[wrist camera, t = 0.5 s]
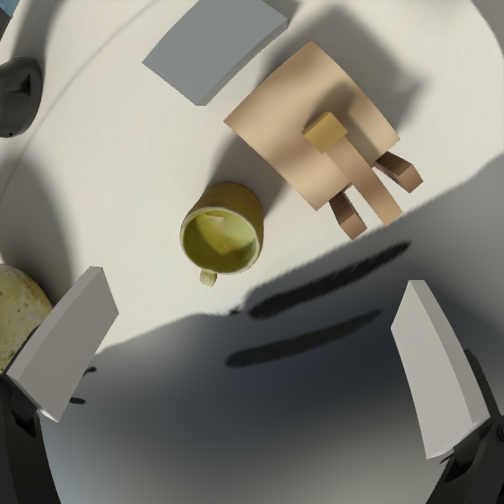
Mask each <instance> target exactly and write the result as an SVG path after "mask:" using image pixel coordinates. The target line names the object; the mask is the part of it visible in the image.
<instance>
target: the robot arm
mask: <svg viewBox="0 0 504 504" xmlns="http://www.w3.org/2000/svg"><path fill="white" fill-rule="evenodd" d="M19 1H20V0H0V41H1V38H2V36H3V34H4V32H5V30H6V28H7V26H8V24H9V22H10V20H11V19H12V17H13V13H14V11H15V9H16V7H17V5H18V3H19ZM41 91H42V77H41V71H40V68H39V65H38V63H37V62H36V61H35V60H34V59H33V58H31V57H19V58H15V59H13V60H11V61H8V62H6V63H4V64H2V65H0V137H3V138H11V137H14V136H17V135H20V134H22V133H24V132H25V131H26V130H27V129H28V128H29V127H30V125H31V124H32V122H33V120H34V118H35V116H36V113H37V110H38V107H39V103H40V98H41ZM118 314H119V312H118V309H117V307H116V304H115V302H114V299H113V296H112V293H111V291H110V288H109V285H108V282H107V279H106V277H105V274H104V271H103V268H102V267H93V266H90V267H89V268H88V269H87V270H86V271H85V272H84V273H83V275H82V276H81V277H80V278H79V279H78V280H77V281H76V282H75V284H74V285H73V286H72V287H71V288H70V289H69V290H68V292H67V293H66V294H65V295H64V296H63V297H62V299H61V300H60V301H59V302H58V303H57V305H56V306H55V307H54V308H53V310H52V311H51V312H50V313H49V315H48V316H47V317H46V318H45V320H44V321H43V322H42V323H41V324H40V325H38V326H37V327H36V328H34V329H33V330H32V331H31V333H30V334H29V335H28V337H27V338H26V341H24V342H23V344H22V345H21V348H19V349H18V351H17V352H16V353H15V355H14V356H13V358H12V359H11V361H10V362H9V364H8V365H7V367H6V368H5V370H4V371H3V372H2V374H1V373H0V504H61V502H60V499H59V497H58V494H57V491H56V487H55V485H54V481H53V478H52V474H51V471H50V467H49V463H48V459H47V455H46V451H45V446H44V442H43V437H42V431H41V425H40V418H39V416H38V413H37V412H36V410H37V408H38V409H39V410H40V411H41V412H42V413H43V414H44V415H45V416H47V417H49V418H51V419H53V420H55V421H56V422H59V420H60V418H61V416H62V414H63V412H64V409H65V408H66V406H67V404H68V402H69V400H70V398H71V396H72V394H73V392H74V390H75V388H76V386H77V385H78V383H79V381H80V379H81V377H82V375H83V373H84V372H85V370H86V368H87V366H88V364H89V363H90V361H91V359H92V357H93V356H94V354H95V352H96V350H97V349H98V347H99V345H100V344H101V342H102V340H103V339H104V337H105V335H106V334H107V332H108V330H109V329H110V327H111V325H112V324H113V322H114V321H115V319H116V317H117V316H118ZM391 330H392V333H393V336H394V339H395V341H396V344H397V347H398V350H399V353H400V356H401V359H402V363H403V366H404V369H405V372H406V375H407V379H408V382H409V385H410V389H411V392H412V396H413V400H414V404H415V408H416V411H417V416H418V420H419V424H420V428H421V433H422V437H423V442H424V446H425V452H426V457H427V459H429V458H432V457H435V456H439V455H442V454H444V453H446V452H447V451H448V450H450V449H451V448H454V453H452V454H451V455H450V456H448V457H446V458H445V459H444V460H442V462H441V463H440V464H439V465H440V466H442V465H443V464H445V463H447V462H448V463H447V465H446V466H444V467H445V469H444V471H443V473H442V475H441V477H440V479H439V481H438V483H437V485H436V487H435V489H434V490H433V492H432V494H431V496H430V497H429V499H428V501H427V502H426V504H504V415H503V416H501V414H500V412H499V410H498V407H497V404H496V402H495V399H494V397H493V394H492V392H491V389H490V387H489V384H488V382H487V381H486V377H485V375H484V373H483V372H482V368H481V366H480V364H479V362H478V360H477V358H476V357H475V356H474V355H473V354H472V353H471V351H470V350H469V349H466V350H462V348H461V345H460V344H459V341H458V339H457V338H456V336H455V334H454V332H453V330H452V328H451V326H450V324H449V322H448V321H447V319H446V317H445V315H444V313H443V312H442V310H441V308H440V306H439V304H438V303H437V301H436V299H435V298H434V296H433V294H432V293H431V291H430V289H429V288H428V286H427V285H426V283H425V281H423V280H409V282H408V285H407V288H406V291H405V293H404V296H403V299H402V302H401V304H400V307H399V310H398V312H397V315H396V318H395V320H394V322H393V324H392V327H391Z"/></svg>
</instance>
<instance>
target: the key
mask: <svg viewBox="0 0 504 504" xmlns="http://www.w3.org/2000/svg"><path fill="white" fill-rule="evenodd" d="M347 132H348V131H347V130H346V129H345V128H344V126H343V125H342V124H341V123H340V122H339V121H338V120H337V119H336V118H335V116H334V115H333V114H332V113H331V112H323V113H322V114H321V115H320V116H319V117H318V118H317V119H315V120H314V121H313V122H312V123H311V124H310V125H309V126H308V127H307V128H305V129H304V130H303V131H302V134H303V135H304V136H305V137H306V138H307V139H308V140H309V141H310V142H311V143H312V144H313V145H314V146H315V147H316V149H317V150H318V151H319V152H320V153H321V154H323V153H324V152H325V153H326V154H327V155H328V156H329V157H330V158H331V160H332V161H333V162H334V163H335V164H336V165H337V166H338V167H339V169H340V170H341V171H342V172H343V173H344V174H345V176H346V177H347V178H348V179H349V180H350V181H351V183H352V184H353V185H354V186H355V188H356V189H357V190H358V191H359V192H360V194H361V195H362V196H363V197H364V199H365V200H366V201H367V202H368V204H369V205H370V206H371V208H372V209H373V210H374V211H375V213H376V214H377V215H378V217H379V218H380V219H381V221H382V222H383V223H384V225H385V226H387V225H388V224H389V223H391V222H392V221H393V220H394V219H395V218H397V217H398V216H399V215H400V214H402V213H403V212H402V210H401V209H400V207H399V206H398V204H397V203H396V201H395V200H394V199H393V197H392V196H391V194H390V193H389V192H388V190H387V189H386V187H385V186H384V185H383V183H382V182H381V181H380V179H379V178H378V177H377V175H376V174H375V173H374V171H373V170H372V169H371V168H370V166H369V165H368V164H367V162H366V161H365V160H364V159H363V157H362V156H361V155H360V154H359V153H358V151H357V150H356V149H355V148H354V147H353V145H352V144H351V143H350V142H349V141H348V140H347V138H346V137H345V136H344V135H345V134H346V133H347Z"/></svg>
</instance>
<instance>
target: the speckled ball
mask: <svg viewBox="0 0 504 504" xmlns="http://www.w3.org/2000/svg"><path fill="white" fill-rule="evenodd" d="M52 310H53V308H52V306H51V303H50V301H49V300H48V298H47V296H46V294H45V293H44V291H43V290H42V289H41V287H40V286H39V285H38V284H37V283H36V282H35V281H34V280H33V279H32V278H31V277H30V276H28V275H27V274H26V273H24V272H23V271H21V270H19V269H17V268H15V267H12V266H9V265H5V264H0V373H1V374H2V372H3V371H4V370H5V368H6V367H7V365H8V364H9V362H10V361H11V359H12V358H13V356H14V355H15V353H16V352H17V351H18V349H19V348H21V345H22V344H23V342H24V341H26V338H27V337H28V335H29V334H30V333H31V331H32V330H33V329H34V328H36V327H37V326H38V325H40V324H41V323H42V322H43V321H44V320H45V318H46V317H47V316H48V315H49V313H50V312H51V311H52Z"/></svg>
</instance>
